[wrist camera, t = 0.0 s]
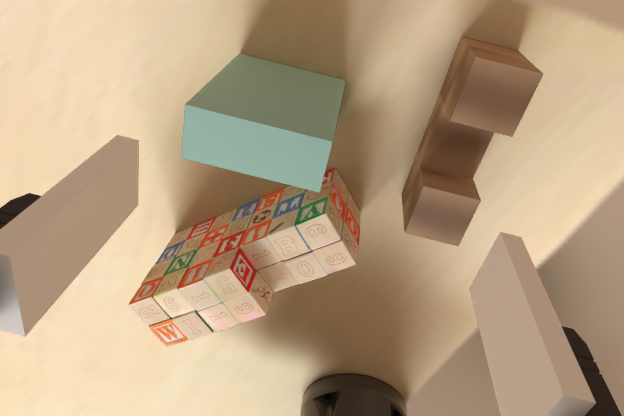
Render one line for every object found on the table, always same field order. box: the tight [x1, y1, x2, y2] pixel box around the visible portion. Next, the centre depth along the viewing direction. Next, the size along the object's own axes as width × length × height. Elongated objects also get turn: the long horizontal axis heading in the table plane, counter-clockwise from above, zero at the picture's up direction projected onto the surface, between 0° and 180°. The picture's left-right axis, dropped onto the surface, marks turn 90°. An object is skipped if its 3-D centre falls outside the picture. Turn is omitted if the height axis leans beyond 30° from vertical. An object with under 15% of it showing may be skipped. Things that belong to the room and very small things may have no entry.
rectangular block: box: [182, 54, 346, 193], centre depth 37 cm, size 4×10×14 cm, turn 78°
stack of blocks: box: [129, 168, 360, 347], centre depth 46 cm, size 21×6×12 cm, turn 119°
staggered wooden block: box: [402, 37, 543, 246], centre depth 40 cm, size 16×5×7 cm, turn 168°
